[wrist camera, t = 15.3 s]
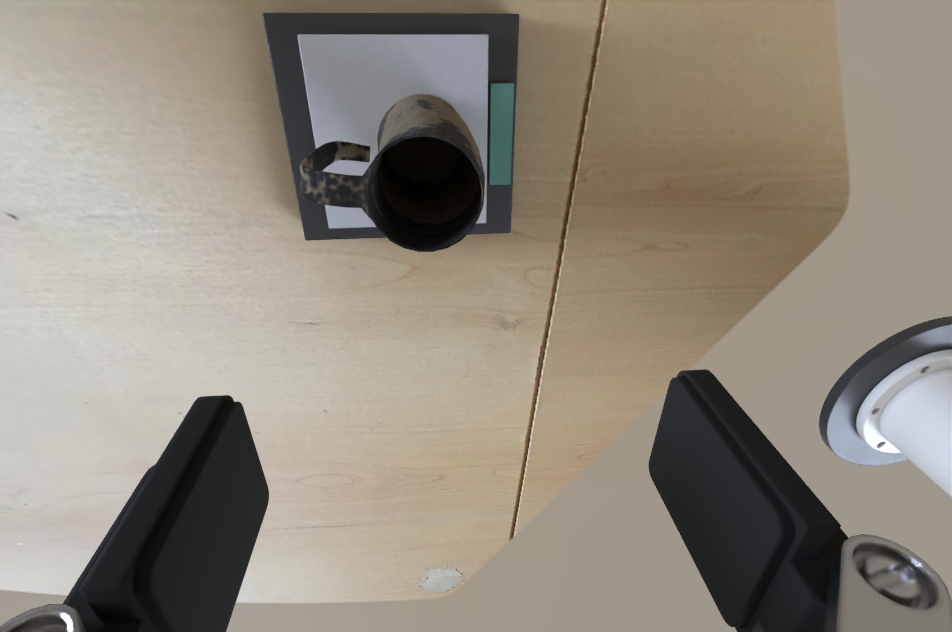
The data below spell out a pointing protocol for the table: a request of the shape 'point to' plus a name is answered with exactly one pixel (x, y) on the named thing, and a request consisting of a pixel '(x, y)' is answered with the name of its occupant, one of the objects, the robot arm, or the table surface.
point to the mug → (407, 175)
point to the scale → (393, 94)
